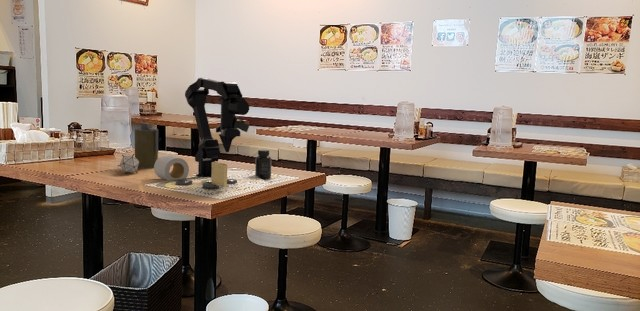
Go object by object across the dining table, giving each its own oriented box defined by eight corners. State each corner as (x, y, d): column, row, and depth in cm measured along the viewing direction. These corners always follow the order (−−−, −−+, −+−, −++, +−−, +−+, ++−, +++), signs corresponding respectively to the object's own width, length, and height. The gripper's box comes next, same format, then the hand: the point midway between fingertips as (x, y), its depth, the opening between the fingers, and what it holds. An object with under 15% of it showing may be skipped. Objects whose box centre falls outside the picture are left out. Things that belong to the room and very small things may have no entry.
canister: (129, 167, 222) (129, 123, 220) (143, 164, 232) (143, 122, 229) (149, 169, 219) (149, 124, 216) (163, 166, 229) (163, 123, 226)
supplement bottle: (273, 177, 213) (274, 150, 212) (267, 179, 207) (268, 151, 205) (258, 176, 215) (259, 148, 213) (252, 178, 208) (253, 150, 207)
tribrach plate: (170, 188, 180) (170, 182, 180) (202, 180, 199) (203, 174, 199) (211, 194, 174) (211, 187, 173) (241, 185, 192) (241, 179, 192)
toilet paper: (188, 182, 194) (189, 157, 193) (164, 184, 188) (164, 158, 186) (177, 178, 202) (177, 154, 200) (153, 180, 195) (154, 155, 194)
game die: (124, 182, 207) (109, 163, 204) (136, 172, 214) (121, 154, 211) (138, 173, 203) (122, 154, 200) (149, 164, 210) (134, 145, 207)
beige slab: (199, 187, 178) (199, 161, 177) (212, 185, 183) (213, 160, 181) (218, 192, 171) (218, 165, 170) (231, 189, 176) (232, 163, 174)
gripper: (253, 115, 190) (252, 155, 192) (242, 112, 207) (241, 149, 209) (225, 114, 186) (224, 155, 188) (215, 112, 203) (215, 149, 205)
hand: (227, 152), depth 198 cm, fingers closed
